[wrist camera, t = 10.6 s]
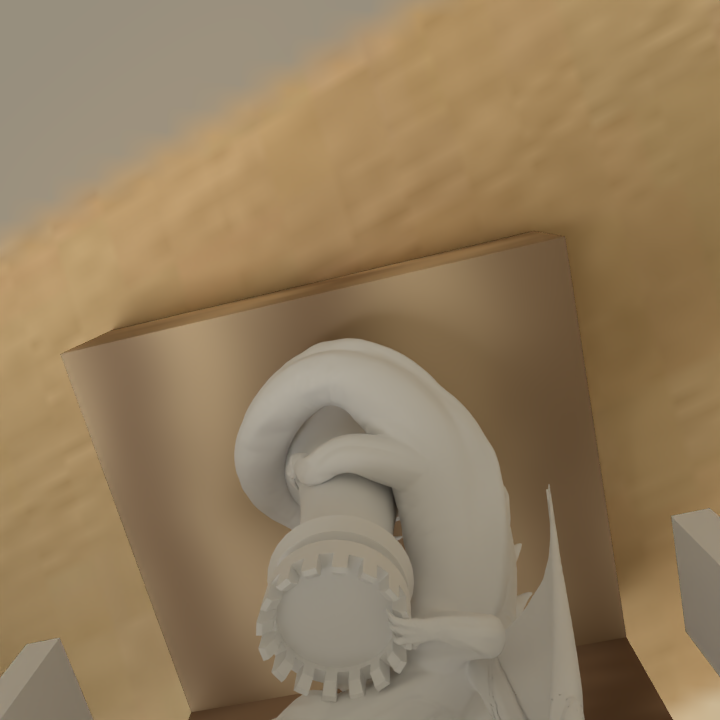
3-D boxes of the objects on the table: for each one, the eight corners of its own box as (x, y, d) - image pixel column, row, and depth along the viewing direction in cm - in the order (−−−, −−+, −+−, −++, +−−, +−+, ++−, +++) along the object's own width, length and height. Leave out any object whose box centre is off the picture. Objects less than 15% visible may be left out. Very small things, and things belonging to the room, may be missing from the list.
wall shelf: (228, 674, 25) (-24, 1450, 9) (111, 330, 21) (-599, 659, 6) (596, 609, 24) (1011, 1392, 8) (533, 231, 20) (1051, 318, 5)
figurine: (197, 413, 18) (-125, 768, 7) (409, 268, 17) (465, 396, 5) (396, 666, 20) (415, 1283, 9) (601, 553, 19) (947, 1101, 7)
